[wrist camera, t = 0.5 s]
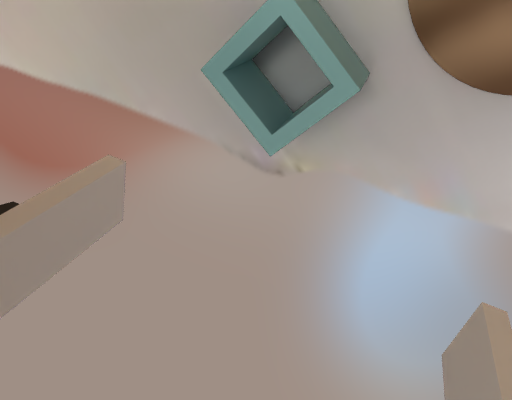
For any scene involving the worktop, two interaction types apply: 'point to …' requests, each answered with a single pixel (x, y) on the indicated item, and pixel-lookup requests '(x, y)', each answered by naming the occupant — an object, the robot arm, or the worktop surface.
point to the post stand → (468, 39)
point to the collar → (259, 88)
